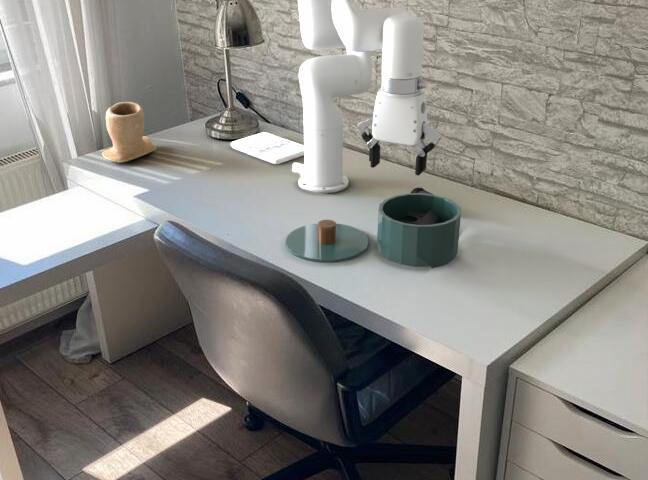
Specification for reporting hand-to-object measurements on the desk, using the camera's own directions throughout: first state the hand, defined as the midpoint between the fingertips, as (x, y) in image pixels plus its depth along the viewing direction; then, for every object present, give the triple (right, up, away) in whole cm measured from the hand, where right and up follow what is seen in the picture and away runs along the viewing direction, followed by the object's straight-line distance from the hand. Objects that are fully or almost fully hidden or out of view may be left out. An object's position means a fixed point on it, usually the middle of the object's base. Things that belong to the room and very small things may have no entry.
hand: (397, 169), depth 160 cm
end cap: (+5, -15, +9) cm, 18 cm away
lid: (-14, -14, +11) cm, 23 cm away
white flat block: (-29, +15, +63) cm, 71 cm away
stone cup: (-67, +13, +59) cm, 90 cm away
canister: (+5, -16, +9) cm, 19 cm away
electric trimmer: (+12, -5, +28) cm, 31 cm away
